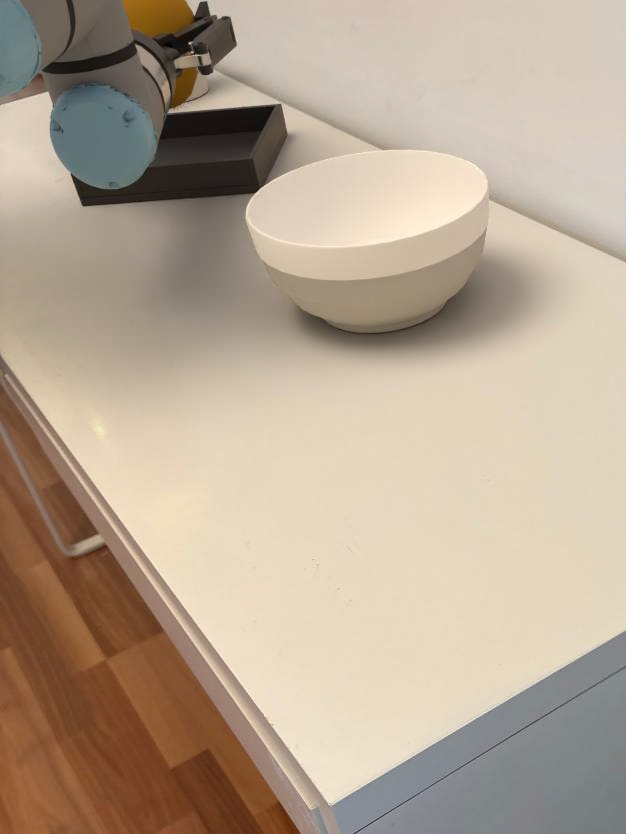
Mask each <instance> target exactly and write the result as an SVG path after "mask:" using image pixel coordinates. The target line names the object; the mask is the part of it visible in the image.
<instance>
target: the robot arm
mask: <svg viewBox="0 0 626 834" xmlns="http://www.w3.org/2000/svg"><path fill="white" fill-rule="evenodd" d="M208 3H209V2H208V1H207V0H204V1H200V2H199V3H198V6H197V8H196V11H195V14H194V20H195V23H193V24H191V25H189V26H187V27H185V28H183V29H181V30H179V31H177V32H175V33H173V34H172V33H159V34H157V35H155V36H153V37H151V38H150V37H149V36H147V35H146V34H144V33H142V32H140V31H137V30H134V29H130V25H129V22H128V18H127V15H126V11H125V8H124V4H123V1H122V0H0V101H1V100H3V99H5V98H7V97H9V96H13V95H15V94H18V93H20V92H21V91H22V90H23V89H25V88H27V87H28V86H29V85H30V83H31V82H32V81H33V79H34V78H35V77H37V75H38V74H39V73H41V76H42V79H43V81H44V85H45V87H46V90H47V93H48V95H49V98H50V101H51V105H52V110H51V112H50V117H49V118H50V121H49V137H50V142H51V146H52V148H53V150H54V153H55V155H56V156H57V159H58V160H59V161H60V162H61V164H62V165H63V166H64V168H65V169H66V170H67V171H68V172H69V173H72V174H73V175H74V176H75V177H77V178H78V179H79V180H81V181H83V182H84V183H87V184H89V185H91V186H94V187H98V188H102V189H119V188H122V187H126V186H128V185H130V184H132V183H134V182H135V181H136V180H138V179H139V178H140V177H141V176H142V174H143V173H144V171H145V170H146V168H147V167H148V166H149V165H150V164H151V163H152V161H153V159H154V158H155V156H154V155H155V154H156V150H157V147H158V146H157V145H158V141H159V138H160V135H161V131H162V128H163V125H164V122H165V119H166V116H167V113H169V111H170V110H171V109H170V106H171V103H172V100H173V97H174V94H175V87H176V78H178V77H180V76H181V75H182V74H183V71H184V68H190V67H194V68H195V72H200V74H201V75H206V76H210V75H212V74H213V73H214V67H215V66H217V64H219V63H220V62H221V61H222V60H223V59H224V58H226V56H227V55H229V53H231V52H232V51H233V50H234V49H235V48H236V47H237V46H238V42H237V39H236V34H235V31H234V30H235V29H234V25H233V21H232V16H230V15H222V16H221V17H219V18H218V15H217V14H212V15H211V11H210V8H209V4H208Z"/></svg>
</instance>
